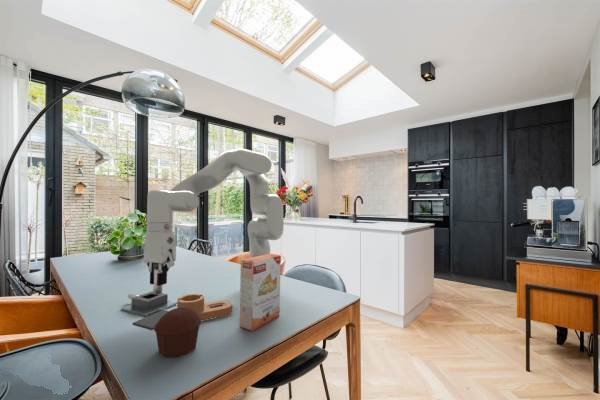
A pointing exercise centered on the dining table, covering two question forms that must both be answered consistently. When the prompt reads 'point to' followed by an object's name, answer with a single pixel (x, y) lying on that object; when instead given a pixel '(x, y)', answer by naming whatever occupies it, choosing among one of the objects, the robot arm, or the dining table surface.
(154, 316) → the rubber mat
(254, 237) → the robot arm
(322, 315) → the dining table surface
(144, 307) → the chuck block
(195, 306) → the bracket
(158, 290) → the small bottle
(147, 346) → the dining table surface
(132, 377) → the dining table surface
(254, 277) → the cracker box
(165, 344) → the muffin
